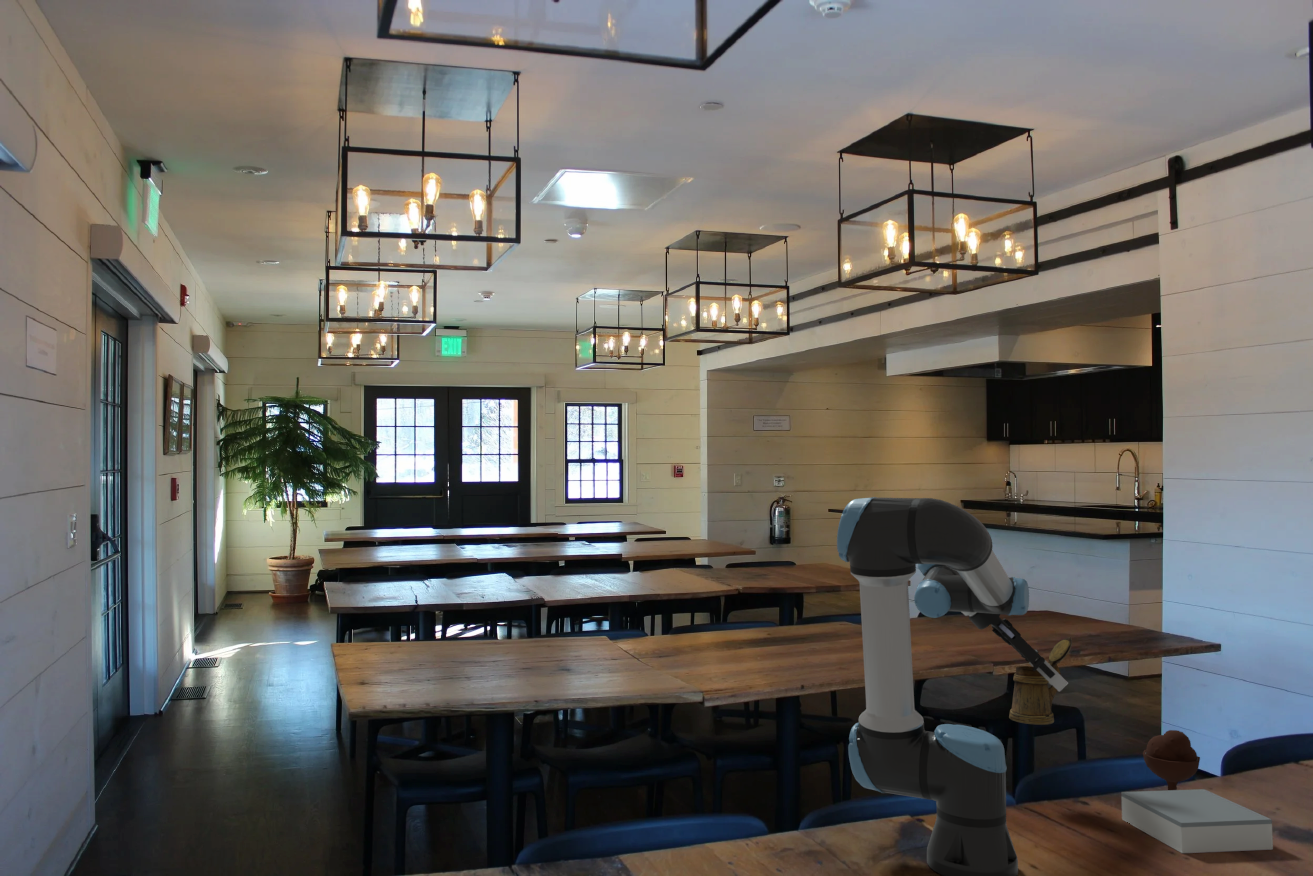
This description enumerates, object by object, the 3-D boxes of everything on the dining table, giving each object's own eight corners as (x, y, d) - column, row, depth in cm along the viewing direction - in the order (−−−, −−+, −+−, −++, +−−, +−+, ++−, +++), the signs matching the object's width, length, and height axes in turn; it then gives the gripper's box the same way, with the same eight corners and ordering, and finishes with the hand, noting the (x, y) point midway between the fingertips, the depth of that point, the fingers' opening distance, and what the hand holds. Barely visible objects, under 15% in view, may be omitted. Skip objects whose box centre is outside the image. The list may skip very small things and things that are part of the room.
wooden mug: (1082, 726, 199) (1081, 639, 200) (1019, 724, 199) (1019, 638, 200) (1062, 716, 208) (1062, 634, 209) (1002, 715, 207) (1002, 633, 209)
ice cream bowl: (1202, 798, 203) (1200, 727, 204) (1200, 812, 193) (1197, 738, 194) (1147, 789, 208) (1145, 720, 209) (1142, 803, 199) (1140, 731, 200)
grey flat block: (1182, 853, 171) (1181, 823, 171) (1122, 819, 189) (1121, 792, 189) (1272, 849, 173) (1271, 819, 173) (1205, 816, 191) (1204, 789, 191)
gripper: (999, 598, 197) (1084, 680, 193) (984, 589, 216) (1061, 664, 212) (973, 623, 198) (1057, 705, 194) (961, 612, 216) (1037, 687, 212)
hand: (1059, 684), depth 203 cm, fingers closed on wooden mug, 6 cm apart
